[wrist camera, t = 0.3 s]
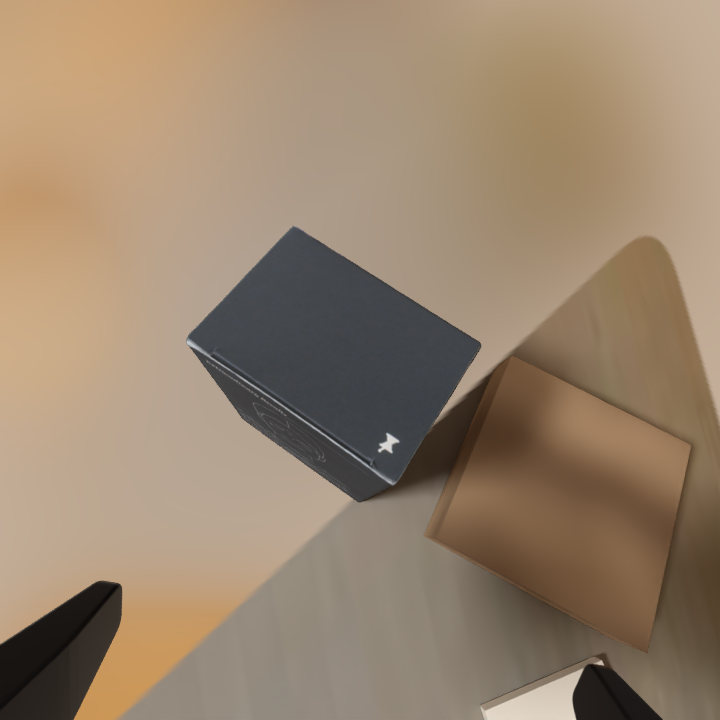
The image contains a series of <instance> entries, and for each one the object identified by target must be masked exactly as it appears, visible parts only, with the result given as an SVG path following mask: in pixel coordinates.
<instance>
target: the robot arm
mask: <svg viewBox="0 0 720 720" xmlns="http://www.w3.org/2000/svg"><path fill="white" fill-rule="evenodd" d="M121 615H122V586H121V585H120V584H118V583H114V582H108V581H98V582H96V583H94V584H92V585H91V586H89V587H87V588H86V589H85V590H83V591H81V592H80V593H78V594H77V595H75V596H74V597H72V598H71V599H69V600H67V601H66V602H64V603H63V604H61V605H60V606H59V607H57V608H55V609H54V610H52V611H51V612H49V613H48V614H46V615H44V616H43V617H41V618H40V619H38V620H37V621H35V622H34V623H32V624H31V625H29V626H28V627H26V628H24V629H23V630H21V631H20V632H18V633H17V634H15V635H14V636H12V637H11V638H9V639H8V640H6V641H4V642H3V643H1V644H0V720H74V718H75V716H76V713H77V712H78V710H79V708H80V706H81V704H82V702H83V699H84V697H85V695H86V693H87V691H88V689H89V687H90V685H91V683H92V681H93V679H94V677H95V675H96V673H97V671H98V669H99V667H100V665H101V663H102V661H103V659H104V657H105V655H106V653H107V651H108V649H109V647H110V645H111V643H112V640H113V638H114V636H115V634H116V632H117V630H118V628H119V625H120V621H121ZM572 703H573V709H574V713H575V717H576V720H663V719H662V718H661V717H660V716H659V715H658V714H657V713H656V712H655V711H654V710H653V709H652V708H651V707H650V706H649V705H648V704H647V703H646V702H645V701H644V700H643V699H642V698H641V697H640V696H639V695H638V694H637V693H636V692H635V691H634V690H633V689H632V688H631V687H630V686H629V685H628V684H627V683H626V682H625V681H624V680H623V679H622V678H621V677H620V676H619V675H618V674H617V673H616V672H615V671H614V670H613V669H611V668H610V667H608V666H603V665H598V664H592V663H591V664H587V665H586V666H585V667H584V669H583V671H582V674H581V676H580V678H579V680H578V682H577V684H576V687H575V689H574V691H573V696H572Z"/></svg>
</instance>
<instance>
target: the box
mask: <svg viewBox="0 0 720 720" xmlns="http://www.w3.org/2000/svg"><path fill="white" fill-rule="evenodd" d="M186 343H187V345H188V346H189V347H190V348H191V349H192V350H193V352H194V353H195V354H196V356H197V357H198V359H199V360H200V361H201V363H202V364H203V366H204V367H205V368H206V369H207V371H208V372H209V373H210V375H211V376H212V378H213V379H214V380H215V381H216V383H217V385H218V386H219V387H220V388H221V390H222V391H223V392H224V394H225V395H226V396H227V398H228V399H229V401H230V402H231V403H232V405H233V406H234V408H235V409H236V410H237V412H238V413H239V415H240V416H241V417H242V419H244V420H245V421H246V422H247V423H249V424H250V425H252V426H253V427H254V428H256V429H257V430H258V431H260V432H261V433H262V434H264V435H265V436H267V437H268V438H269V439H271V440H272V441H273V442H275V443H276V444H277V445H279V446H281V447H282V448H283V449H285V450H286V451H288V452H289V453H290V454H292V455H293V456H294V457H296V458H297V459H299V460H300V461H301V462H303V463H304V464H305V465H307V466H308V467H309V468H311V469H312V470H314V471H315V472H316V473H318V474H319V475H321V476H322V477H323V478H325V479H326V480H328V481H329V482H330V483H332V484H333V485H335V486H336V487H338V488H339V489H340V490H342V491H343V492H344V493H346V494H347V495H349V496H350V497H351V498H353V499H354V500H356V501H357V502H362V501H364V500H366V499H368V498H370V497H372V496H374V495H376V494H378V493H379V492H381V491H383V490H385V489H387V488H389V487H391V486H392V485H395V484H396V483H397V482H398V480H399V479H400V478H401V476H402V474H403V472H404V471H405V469H406V467H407V466H408V464H409V462H410V461H411V459H412V458H413V456H414V454H415V453H416V451H417V449H418V448H419V446H420V445H421V443H422V441H423V440H424V438H425V436H426V435H427V433H428V431H429V430H430V428H431V426H432V425H433V423H434V422H435V420H436V419H437V417H438V416H439V414H440V412H441V411H442V409H443V407H444V406H445V405H446V403H447V402H448V400H449V398H450V397H451V395H452V394H453V392H454V390H455V389H456V387H457V385H458V383H459V382H460V380H461V378H462V377H463V375H464V374H465V372H466V370H467V369H468V367H469V366H470V364H471V363H472V362H473V360H474V358H475V357H476V355H477V353H478V352H479V350H480V348H481V343H480V342H479V341H477V340H476V339H474V338H472V337H471V336H469V335H467V334H466V333H464V332H462V331H461V330H459V329H458V328H456V327H454V326H453V325H451V324H450V323H448V322H446V321H445V320H443V319H442V318H440V317H438V316H437V315H436V314H434V313H432V312H430V311H429V310H428V309H426V308H424V307H423V306H421V305H419V304H418V303H416V302H415V301H413V300H412V299H410V298H409V297H407V296H405V295H404V294H402V293H400V292H399V291H397V290H395V289H394V288H392V287H391V286H389V285H388V284H386V283H384V282H383V281H382V280H380V279H378V278H377V277H375V276H374V275H372V274H370V273H369V272H367V271H366V270H364V269H362V268H361V267H359V266H358V265H356V264H355V263H353V262H351V261H350V260H348V259H346V258H345V257H344V256H342V255H340V254H338V253H337V252H335V251H334V250H332V249H331V248H329V247H328V246H326V245H324V244H323V243H321V242H320V241H318V240H316V239H315V238H313V237H312V236H310V235H309V234H307V233H306V232H304V231H303V230H301V229H299V228H298V227H297V226H293V227H292V228H290V230H289V231H288V232H287V233H286V234H285V235H284V236H283V237H282V238H281V239H280V240H279V241H278V242H277V243H276V244H275V245H274V246H273V247H272V248H271V249H270V250H269V251H268V253H267V254H266V255H265V256H264V257H263V258H262V259H261V260H260V261H259V262H258V263H257V264H256V265H255V266H254V267H253V268H252V269H251V270H250V271H249V273H248V274H246V276H245V277H244V278H243V279H242V280H241V281H240V282H239V283H238V284H237V285H236V286H235V287H234V288H233V289H232V291H231V292H230V293H229V294H228V295H227V296H226V297H225V298H224V299H223V301H221V302H220V303H219V304H218V305H217V306H216V308H215V309H214V310H213V311H212V312H211V313H210V314H209V315H208V316H207V317H206V318H205V319H204V320H203V321H202V322H201V323H200V324H199V325H198V326H197V327H196V328H195V329H194V330H193V331H192V332H191V333H190V334H189V335H188V337H187V340H186Z"/></svg>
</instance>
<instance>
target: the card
mask: <svg viewBox="0 0 720 720" xmlns="http://www.w3.org/2000/svg"><path fill="white" fill-rule="evenodd" d="M591 663H592V664H598V665H603V666H604V664H603V662H602V660H600V659H598V658H596V657H591V658H589V659H587V660H584V661H582V662H580V663H577V664H575V665H573V666H570V667H568V668H566V669H563V670H561V671H559V672H556V673H554V674H552V675H549V676H547V677H545V678H542V679H540V680H538V681H535V682H533V683H531V684H528V685H526V686H524V687H521V688H519V689H517V690H514V691H512V692H510V693H507V694H505V695H503V696H500V697H498V698H496V699H493V700H491V701H489V702H487V703H484V704H482V705H480V707H481V710H482V713H483V717H484V720H576V717H575V713H574V709H573V703H572V696H573V691H574V689H575V687H576V684H577V682H578V680H579V678H580V676H581V674H582V671H583V669H584V667H585V666H586V665H587V664H591Z"/></svg>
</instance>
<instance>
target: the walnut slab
mask: <svg viewBox="0 0 720 720" xmlns="http://www.w3.org/2000/svg"><path fill="white" fill-rule="evenodd" d="M690 449H691V445H690V444H688V443H686V442H684V441H682V440H680V439H678V438H676V437H674V436H672V435H670V434H668V433H666V432H664V431H662V430H660V429H658V428H656V427H654V426H652V425H650V424H648V423H646V422H644V421H642V420H640V419H638V418H636V417H634V416H632V415H630V414H628V413H626V412H624V411H622V410H620V409H618V408H616V407H614V406H612V405H610V404H608V403H606V402H604V401H602V400H600V399H598V398H596V397H594V396H592V395H590V394H588V393H586V392H584V391H582V390H580V389H578V388H576V387H574V386H572V385H570V384H568V383H566V382H564V381H562V380H560V379H558V378H556V377H554V376H552V375H550V374H548V373H546V372H544V371H542V370H540V369H538V368H536V367H534V366H532V365H530V364H528V363H526V362H524V361H522V360H521V359H519V358H517V357H515V356H513V355H511V356H510V357H509V358H508V359H506V360H505V361H504V362H503V363H502V364H500V365H499V366H498V367H497V368H496V369H494V370H493V373H492V375H491V377H490V380H489V382H488V384H487V387H486V389H485V392H484V394H483V396H482V399H481V401H480V403H479V406H478V408H477V411H476V413H475V415H474V418H473V420H472V422H471V425H470V427H469V430H468V432H467V434H466V437H465V439H464V441H463V444H462V446H461V449H460V451H459V453H458V456H457V458H456V461H455V463H454V465H453V468H452V470H451V472H450V475H449V477H448V480H447V482H446V484H445V487H444V489H443V491H442V494H441V496H440V499H439V501H438V503H437V506H436V508H435V510H434V513H433V515H432V518H431V520H430V522H429V525H428V527H427V529H426V532H425V534H424V536H425V537H427V538H428V539H430V540H432V541H434V542H436V543H438V544H439V545H441V546H443V547H445V548H447V549H449V550H450V551H452V552H454V553H456V554H458V555H460V556H461V557H463V558H465V559H467V560H469V561H470V562H472V563H474V564H476V565H478V566H480V567H481V568H483V569H485V570H487V571H489V572H491V573H492V574H494V575H496V576H498V577H500V578H502V579H503V580H505V581H507V582H509V583H511V584H513V585H514V586H516V587H518V588H520V589H522V590H523V591H525V592H527V593H529V594H531V595H533V596H534V597H536V598H538V599H540V600H542V601H544V602H545V603H547V604H549V605H551V606H553V607H555V608H556V609H558V610H560V611H562V612H564V613H566V614H567V615H569V616H571V617H573V618H575V619H576V620H578V621H580V622H582V623H584V624H586V625H587V626H589V627H591V628H593V629H595V630H597V631H598V632H600V633H602V634H604V635H606V636H608V637H609V638H612V639H614V640H617V641H619V642H621V643H624V644H626V645H629V646H631V647H634V648H636V649H639V650H641V651H644V652H646V653H647V651H648V646H649V642H650V637H651V632H652V628H653V623H654V618H655V614H656V609H657V604H658V599H659V595H660V590H661V585H662V581H663V576H664V571H665V567H666V562H667V557H668V552H669V548H670V543H671V538H672V534H673V529H674V524H675V520H676V515H677V510H678V505H679V501H680V496H681V491H682V487H683V482H684V477H685V473H686V468H687V463H688V458H689V454H690Z"/></svg>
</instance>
